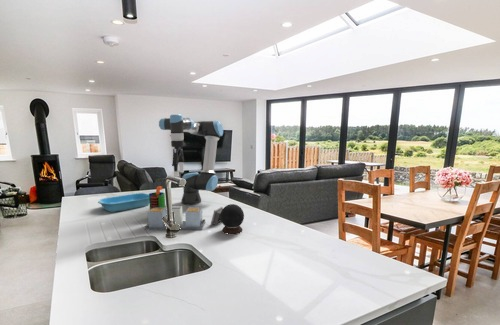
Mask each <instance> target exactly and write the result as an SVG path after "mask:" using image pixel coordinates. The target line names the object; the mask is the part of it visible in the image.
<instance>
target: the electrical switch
mask: <svg viewBox="0 0 500 325" xmlns="http://www.w3.org/2000/svg"><path fill="white" fill-rule="evenodd" d="M223 208H224V207H223V206H220V207H217V208H216V209H214V210H213V214H212V218H211V222H210V224H211V225H216V226H218V225H219V224H221V223H222V222H221V218H220V214H221V211H222V209H223ZM220 222H221V223H220ZM217 224H218V225H217Z"/></svg>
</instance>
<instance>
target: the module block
mask: <svg viewBox="0 0 500 325" xmlns="http://www.w3.org/2000/svg"><path fill="white" fill-rule="evenodd" d="M171 206H172V205H171ZM172 211H173V212H174V214H175V222H176V224H179V225H180V226H181V224H182V223H183V221H184V220H183V206H182V205H181V206H178V205H176V206H175V205H173V206H172Z"/></svg>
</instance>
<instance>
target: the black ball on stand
mask: <svg viewBox="0 0 500 325" xmlns="http://www.w3.org/2000/svg"><path fill="white" fill-rule="evenodd" d="M220 218H221V223H222V225H223V228H222V230H221V231H223V232H224V233H223V232H222V233H223V234H225V233H228V234H227V235H229V234H234V235H238V234H237V233H239V234H241V233H243V228H242V227H241V225H242V224H243V222H244V218H245V214H244V211H243V208H241V206H239V205H237V204H234V203H229V204H228V205H225V206H224V207H223V209H222V211H221V214H220ZM240 232H241V233H240Z"/></svg>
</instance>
